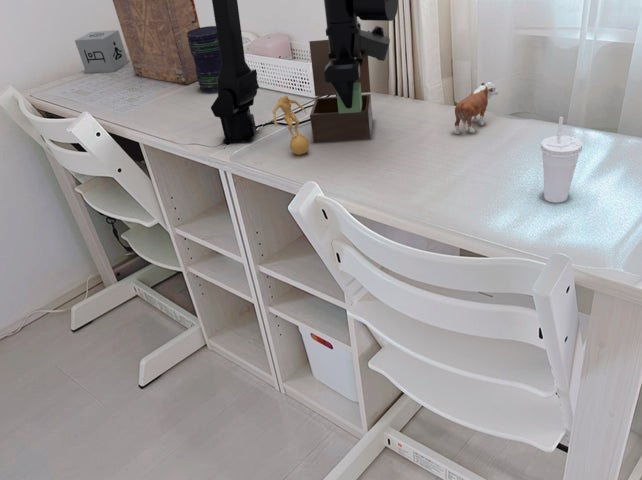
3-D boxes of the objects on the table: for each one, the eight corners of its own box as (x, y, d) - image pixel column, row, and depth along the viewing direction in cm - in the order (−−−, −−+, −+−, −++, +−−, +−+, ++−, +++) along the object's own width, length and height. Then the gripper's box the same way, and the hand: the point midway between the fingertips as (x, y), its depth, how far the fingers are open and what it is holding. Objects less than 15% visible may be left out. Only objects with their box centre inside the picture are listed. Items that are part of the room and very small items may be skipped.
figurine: (292, 163, 125) (282, 105, 118) (273, 156, 128) (262, 100, 121) (321, 148, 129) (313, 92, 122) (302, 142, 133) (294, 87, 126)
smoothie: (530, 191, 106) (537, 112, 97) (567, 186, 106) (577, 107, 97) (543, 208, 101) (551, 126, 92) (581, 203, 101) (593, 121, 92)
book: (135, 75, 189) (101, -34, 171) (159, 66, 194) (129, -40, 176) (187, 85, 175) (157, -32, 157) (211, 75, 181) (184, -39, 163)
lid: (366, 36, 130) (366, 36, 130) (309, 41, 131) (309, 41, 132) (370, 92, 135) (370, 91, 135) (315, 96, 136) (315, 95, 137)
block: (338, 113, 120) (336, 91, 117) (340, 105, 124) (338, 83, 121) (360, 112, 120) (358, 89, 117) (362, 104, 123) (360, 82, 120)
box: (370, 139, 131) (368, 110, 127) (313, 142, 132) (309, 114, 129) (372, 121, 139) (370, 93, 135) (319, 124, 141) (315, 97, 137)
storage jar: (218, 79, 176) (203, 13, 166) (242, 83, 171) (228, 14, 160) (192, 91, 170) (175, 22, 159) (217, 95, 165) (200, 24, 154)
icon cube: (86, 73, 197) (74, 40, 191) (101, 63, 204) (90, 32, 198) (114, 71, 195) (103, 38, 189) (128, 62, 203) (118, 30, 197)
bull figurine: (500, 118, 133) (502, 80, 128) (464, 139, 126) (465, 100, 121) (483, 114, 136) (484, 77, 131) (447, 135, 128) (447, 96, 123)
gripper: (383, 29, 103) (389, 118, 113) (387, 4, 118) (391, 85, 127) (319, 34, 105) (329, 122, 114) (330, 9, 119) (339, 89, 129)
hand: (350, 103), depth 121 cm, fingers closed on block, 4 cm apart
